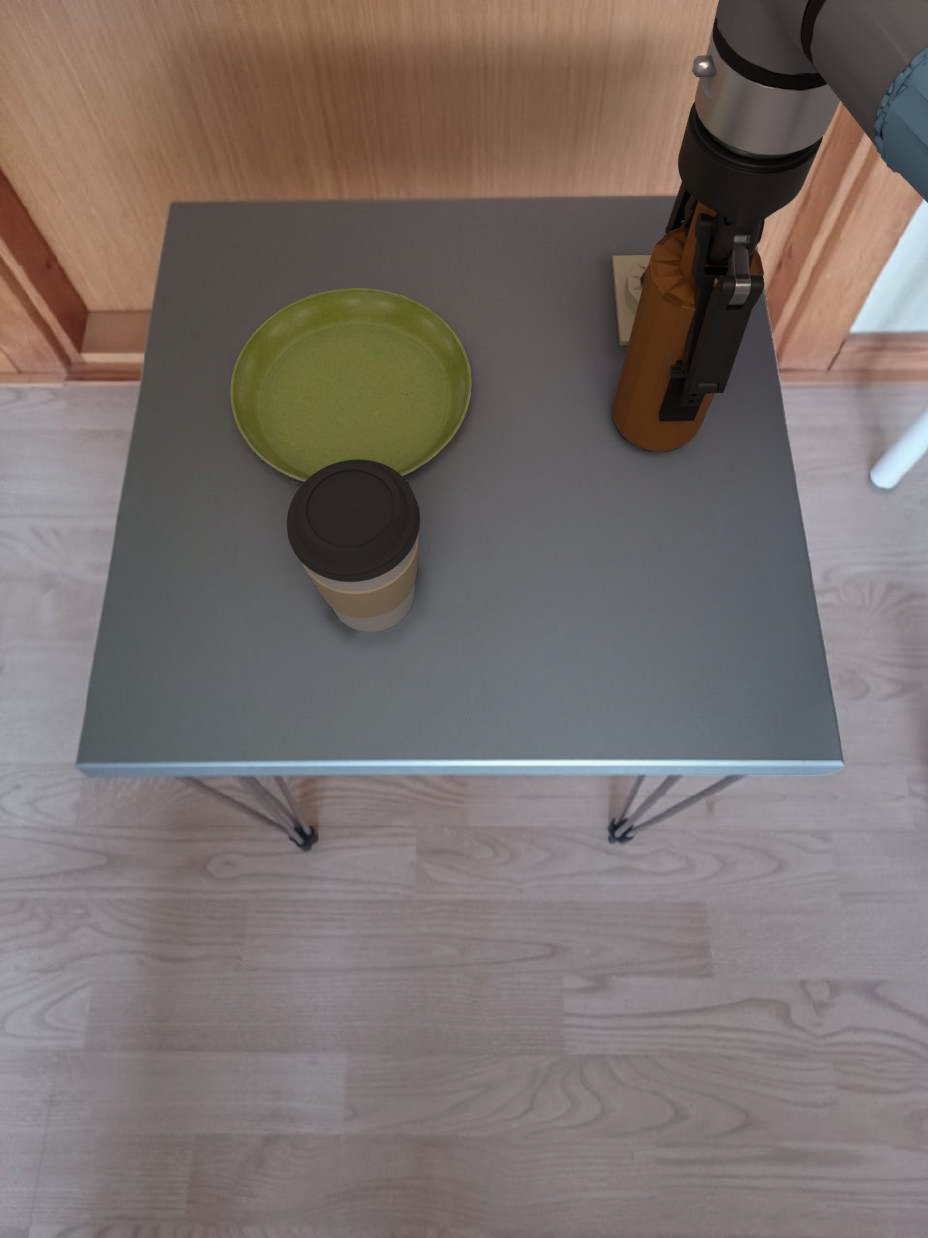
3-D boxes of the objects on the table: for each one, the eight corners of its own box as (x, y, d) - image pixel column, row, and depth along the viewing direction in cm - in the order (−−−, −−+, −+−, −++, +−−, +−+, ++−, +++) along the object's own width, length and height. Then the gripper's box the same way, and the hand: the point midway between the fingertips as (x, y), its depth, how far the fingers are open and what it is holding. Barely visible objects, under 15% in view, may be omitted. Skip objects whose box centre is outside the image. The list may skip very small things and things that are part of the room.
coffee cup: (294, 589, 71) (251, 499, 57) (379, 522, 73) (357, 419, 59) (366, 667, 68) (338, 593, 54) (451, 596, 70) (446, 506, 56)
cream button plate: (707, 344, 79) (714, 326, 77) (619, 346, 79) (623, 327, 77) (695, 259, 83) (701, 239, 81) (611, 260, 83) (615, 240, 81)
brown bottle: (719, 410, 75) (818, 190, 53) (665, 467, 73) (745, 262, 51) (649, 361, 77) (718, 130, 55) (594, 415, 75) (643, 197, 53)
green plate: (464, 512, 73) (463, 493, 70) (221, 500, 74) (211, 480, 71) (477, 315, 81) (478, 290, 78) (257, 305, 81) (249, 280, 78)
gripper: (673, -9, 52) (614, 272, 73) (712, 260, 44) (634, 485, 66) (799, -11, 52) (703, 271, 73) (859, 258, 44) (733, 484, 66)
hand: (671, 372), depth 69 cm, fingers closed on brown bottle, 8 cm apart
